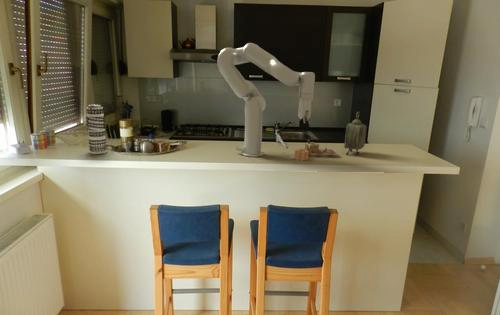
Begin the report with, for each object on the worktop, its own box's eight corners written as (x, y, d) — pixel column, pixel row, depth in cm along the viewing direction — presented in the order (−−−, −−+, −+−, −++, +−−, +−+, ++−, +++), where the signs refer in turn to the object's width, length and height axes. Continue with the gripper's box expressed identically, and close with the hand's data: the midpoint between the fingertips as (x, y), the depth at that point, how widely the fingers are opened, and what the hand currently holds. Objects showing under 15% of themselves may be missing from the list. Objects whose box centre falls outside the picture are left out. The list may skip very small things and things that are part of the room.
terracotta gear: (295, 160, 174) (296, 151, 173) (293, 156, 181) (293, 148, 180) (309, 160, 175) (310, 152, 173) (306, 157, 182) (307, 149, 181)
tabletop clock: (348, 150, 201) (353, 109, 195) (363, 152, 197) (369, 111, 191) (343, 155, 189) (347, 111, 183) (359, 157, 185) (364, 113, 179)
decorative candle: (89, 154, 170) (85, 105, 164) (87, 150, 178) (83, 104, 172) (108, 153, 175) (105, 105, 168) (106, 149, 182) (102, 103, 176)
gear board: (303, 156, 182) (304, 142, 180) (298, 151, 195) (299, 137, 193) (338, 157, 183) (340, 142, 181) (331, 151, 196) (333, 138, 194)
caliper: (276, 141, 221) (276, 132, 220) (277, 141, 221) (278, 132, 220) (285, 148, 202) (285, 138, 200) (286, 148, 202) (287, 138, 200)
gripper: (295, 95, 178) (293, 126, 182) (302, 97, 161) (299, 132, 165) (309, 95, 178) (307, 127, 183) (317, 98, 162) (314, 132, 166)
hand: (303, 129), depth 174 cm, fingers open, 9 cm apart
